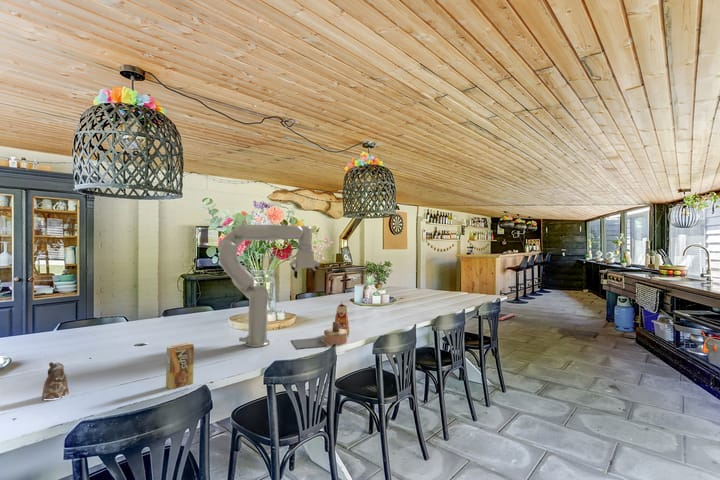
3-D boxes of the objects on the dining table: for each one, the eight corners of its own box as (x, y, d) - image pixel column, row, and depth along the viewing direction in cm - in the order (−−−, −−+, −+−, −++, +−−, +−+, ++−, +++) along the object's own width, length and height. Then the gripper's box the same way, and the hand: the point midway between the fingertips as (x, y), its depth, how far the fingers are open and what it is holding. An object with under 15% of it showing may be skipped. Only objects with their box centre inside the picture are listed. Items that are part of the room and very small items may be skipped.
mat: (297, 349, 192) (297, 348, 192) (291, 341, 207) (291, 340, 207) (327, 346, 198) (327, 345, 198) (319, 338, 213) (319, 337, 213)
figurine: (50, 402, 128) (50, 367, 128) (37, 399, 130) (37, 364, 130) (72, 394, 134) (73, 361, 134) (60, 391, 137) (60, 358, 137)
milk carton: (348, 336, 218) (349, 302, 218) (332, 336, 218) (333, 302, 218) (349, 332, 227) (350, 299, 227) (334, 332, 228) (334, 299, 227)
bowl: (328, 345, 199) (328, 336, 199) (322, 339, 210) (322, 331, 210) (349, 343, 204) (349, 334, 204) (342, 338, 215) (342, 329, 215)
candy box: (189, 380, 149) (189, 342, 149) (193, 383, 146) (194, 344, 146) (165, 386, 142) (166, 346, 142) (169, 390, 140) (170, 349, 139)
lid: (327, 336, 198) (328, 325, 198) (321, 330, 210) (321, 320, 210) (350, 334, 203) (351, 324, 203) (343, 329, 215) (343, 319, 215)
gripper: (291, 248, 207) (290, 279, 207) (321, 248, 213) (321, 278, 213) (288, 247, 214) (288, 277, 214) (318, 247, 220) (317, 276, 220)
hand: (304, 277), depth 213 cm, fingers open, 9 cm apart
